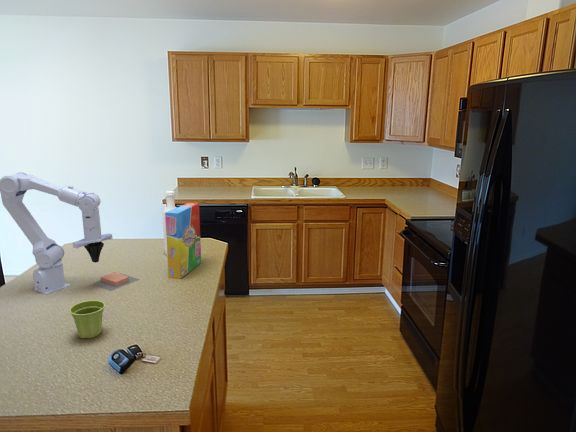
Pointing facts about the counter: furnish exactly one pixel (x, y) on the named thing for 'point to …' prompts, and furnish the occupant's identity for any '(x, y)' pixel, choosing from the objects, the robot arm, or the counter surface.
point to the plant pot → (88, 317)
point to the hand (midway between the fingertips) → (95, 261)
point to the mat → (110, 287)
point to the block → (115, 279)
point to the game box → (183, 239)
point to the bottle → (169, 207)
